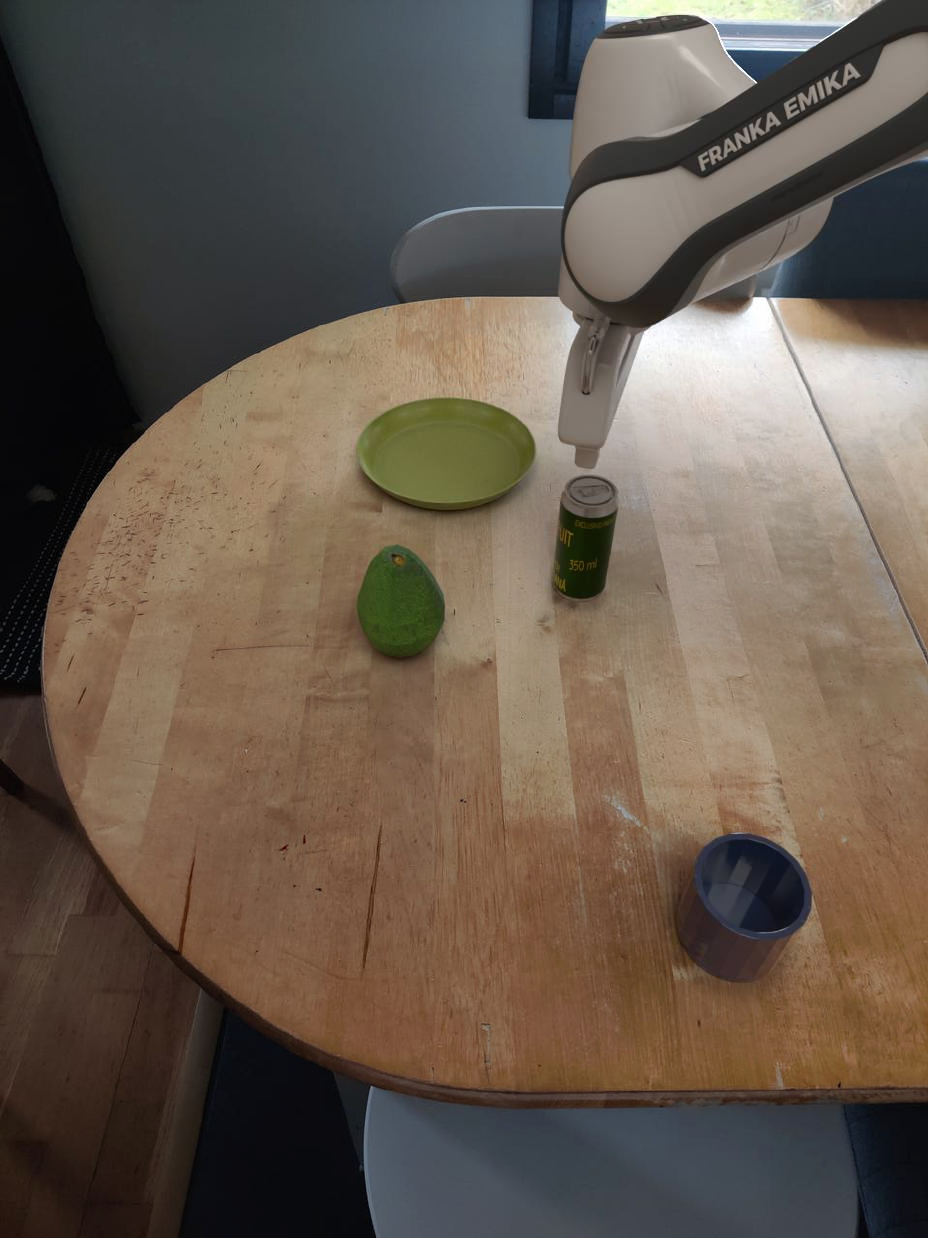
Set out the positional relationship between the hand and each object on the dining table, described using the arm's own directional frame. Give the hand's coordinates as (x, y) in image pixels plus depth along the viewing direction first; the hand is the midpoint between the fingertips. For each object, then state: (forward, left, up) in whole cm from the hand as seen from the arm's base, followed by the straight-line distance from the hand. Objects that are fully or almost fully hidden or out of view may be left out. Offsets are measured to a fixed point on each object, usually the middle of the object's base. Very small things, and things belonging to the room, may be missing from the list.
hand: (597, 432), depth 74 cm
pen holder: (-18, +32, -18) cm, 41 cm away
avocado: (+14, +13, -18) cm, 27 cm away
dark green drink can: (0, 0, -18) cm, 18 cm away
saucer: (+19, -15, -18) cm, 30 cm away
